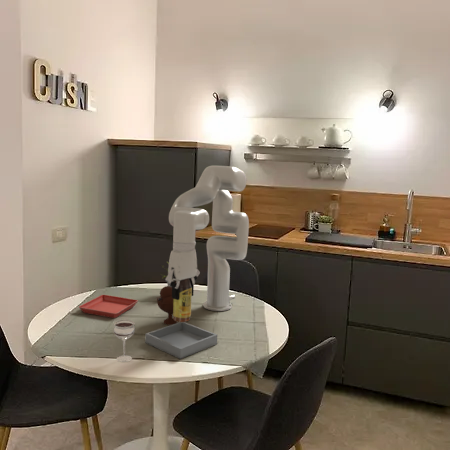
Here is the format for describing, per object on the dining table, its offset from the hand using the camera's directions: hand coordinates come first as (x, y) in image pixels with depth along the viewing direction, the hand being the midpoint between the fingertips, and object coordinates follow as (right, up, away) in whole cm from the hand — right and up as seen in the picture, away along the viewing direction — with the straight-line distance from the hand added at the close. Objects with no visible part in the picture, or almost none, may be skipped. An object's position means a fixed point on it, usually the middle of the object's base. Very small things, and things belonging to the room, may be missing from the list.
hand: (182, 296), depth 170 cm
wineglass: (-18, -19, -11) cm, 28 cm away
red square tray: (-34, -11, +34) cm, 49 cm away
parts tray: (-1, -17, +3) cm, 17 cm away
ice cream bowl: (-7, -14, +23) cm, 28 cm away
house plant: (-10, -8, +57) cm, 58 cm away
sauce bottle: (0, -9, +1) cm, 9 cm away
